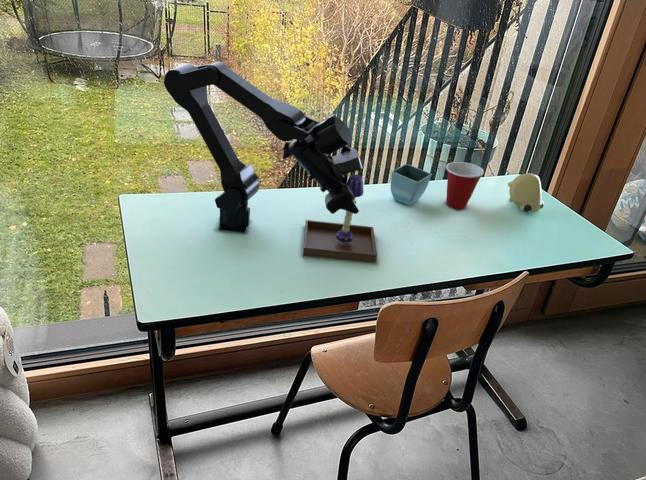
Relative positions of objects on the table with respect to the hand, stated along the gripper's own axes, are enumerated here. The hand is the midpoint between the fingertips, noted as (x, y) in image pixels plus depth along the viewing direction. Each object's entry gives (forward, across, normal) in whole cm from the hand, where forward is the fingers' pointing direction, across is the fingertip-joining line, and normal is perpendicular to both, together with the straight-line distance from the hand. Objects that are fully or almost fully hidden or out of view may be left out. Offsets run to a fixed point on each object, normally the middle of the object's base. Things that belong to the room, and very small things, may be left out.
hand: (356, 208), depth 134 cm
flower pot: (+22, +26, -7) cm, 34 cm away
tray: (+6, 0, +9) cm, 11 cm away
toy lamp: (+5, 0, +7) cm, 9 cm away
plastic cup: (+32, +25, -18) cm, 45 cm away
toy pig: (+48, +26, -34) cm, 64 cm away
